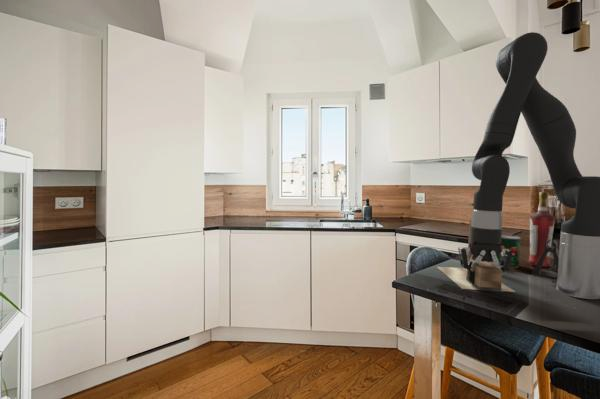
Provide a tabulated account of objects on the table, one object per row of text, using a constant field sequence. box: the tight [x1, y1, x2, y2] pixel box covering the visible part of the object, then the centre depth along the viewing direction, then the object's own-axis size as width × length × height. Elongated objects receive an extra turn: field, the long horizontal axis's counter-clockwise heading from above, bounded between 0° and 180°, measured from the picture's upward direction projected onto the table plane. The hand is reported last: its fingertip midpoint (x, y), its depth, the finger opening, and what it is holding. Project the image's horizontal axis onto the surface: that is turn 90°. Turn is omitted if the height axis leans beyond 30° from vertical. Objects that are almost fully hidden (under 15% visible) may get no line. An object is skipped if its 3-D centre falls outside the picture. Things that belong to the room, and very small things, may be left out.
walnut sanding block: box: [466, 261, 503, 293], centre depth 88 cm, size 6×9×6 cm, turn 172°
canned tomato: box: [497, 234, 521, 269], centre depth 115 cm, size 8×8×11 cm
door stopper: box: [531, 239, 559, 280], centre depth 103 cm, size 9×6×12 cm, turn 47°
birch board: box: [437, 266, 516, 293], centre depth 95 cm, size 14×22×1 cm, turn 173°
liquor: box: [527, 191, 556, 269], centre depth 114 cm, size 7×7×28 cm
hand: (483, 283), depth 88 cm, fingers closed on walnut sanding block, 5 cm apart
